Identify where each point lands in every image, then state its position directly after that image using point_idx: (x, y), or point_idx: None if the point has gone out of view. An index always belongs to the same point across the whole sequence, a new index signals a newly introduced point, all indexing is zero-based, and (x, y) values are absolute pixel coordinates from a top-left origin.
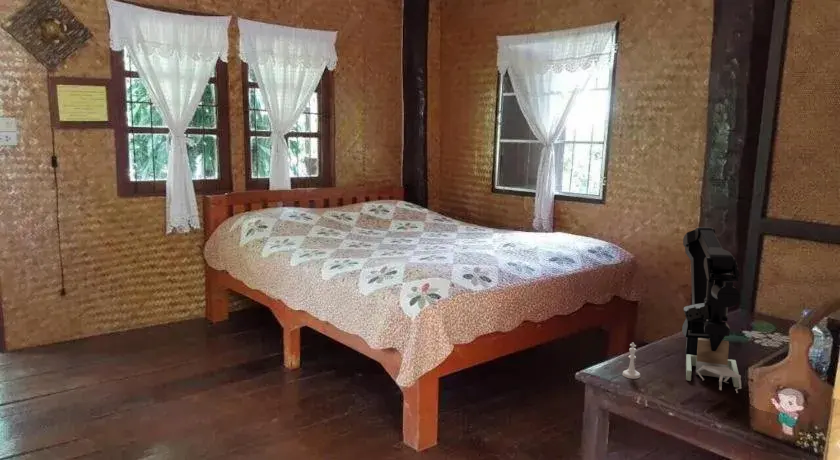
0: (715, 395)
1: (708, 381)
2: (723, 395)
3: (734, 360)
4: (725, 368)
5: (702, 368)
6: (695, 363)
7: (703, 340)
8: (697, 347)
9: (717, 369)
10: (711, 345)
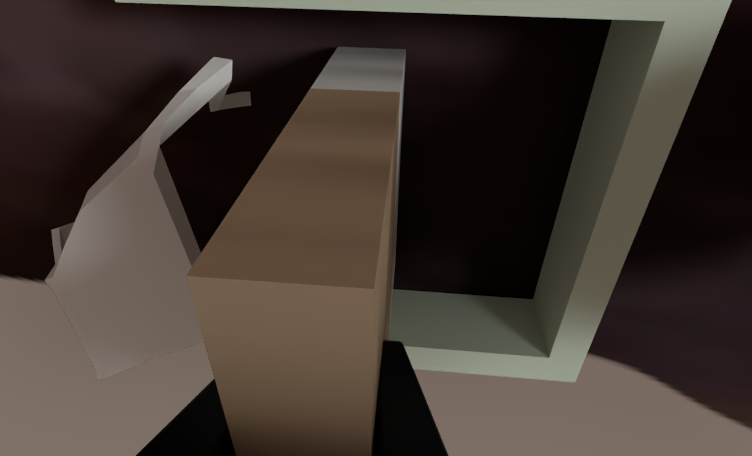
0: (5, 159)
1: (247, 138)
2: (46, 205)
3: (565, 376)
4: (187, 320)
5: (151, 130)
6: (612, 62)
7: (213, 360)
8: (371, 164)
9: (115, 263)
10: (202, 396)
